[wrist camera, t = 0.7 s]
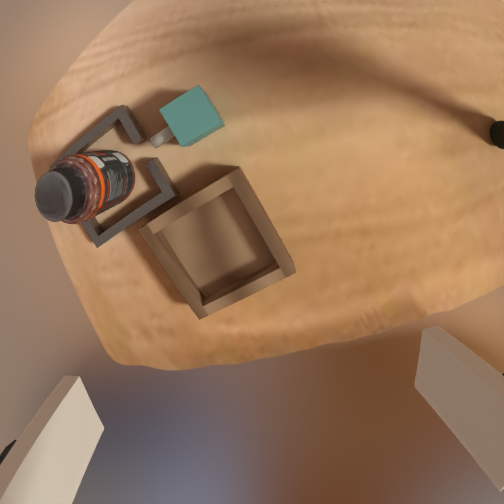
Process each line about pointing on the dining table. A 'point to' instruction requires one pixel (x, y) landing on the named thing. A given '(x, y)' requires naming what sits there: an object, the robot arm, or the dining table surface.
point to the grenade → (498, 134)
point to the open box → (218, 245)
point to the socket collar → (153, 166)
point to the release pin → (188, 119)
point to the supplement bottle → (84, 186)
